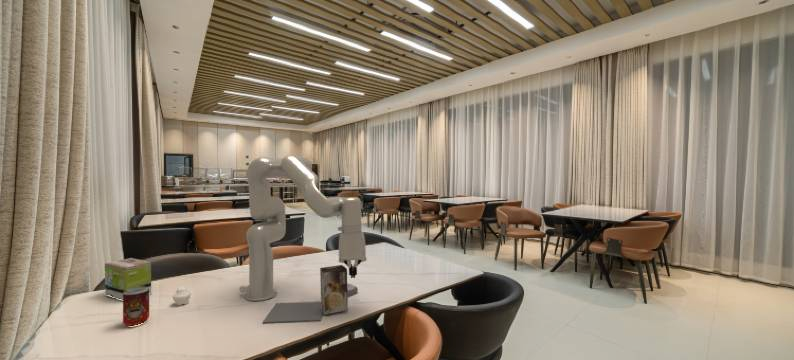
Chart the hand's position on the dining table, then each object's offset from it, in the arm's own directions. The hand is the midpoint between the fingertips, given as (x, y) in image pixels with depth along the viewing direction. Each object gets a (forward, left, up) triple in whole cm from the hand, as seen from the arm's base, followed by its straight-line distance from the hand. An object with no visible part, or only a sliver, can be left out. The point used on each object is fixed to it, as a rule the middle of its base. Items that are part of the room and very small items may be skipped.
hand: (353, 276), depth 118 cm
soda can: (-75, -4, -13) cm, 76 cm away
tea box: (-97, +23, -13) cm, 101 cm away
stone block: (-6, +17, -14) cm, 23 cm away
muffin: (-69, +12, -13) cm, 72 cm away
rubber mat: (-21, 0, -13) cm, 25 cm away
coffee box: (-7, 0, -13) cm, 15 cm away
